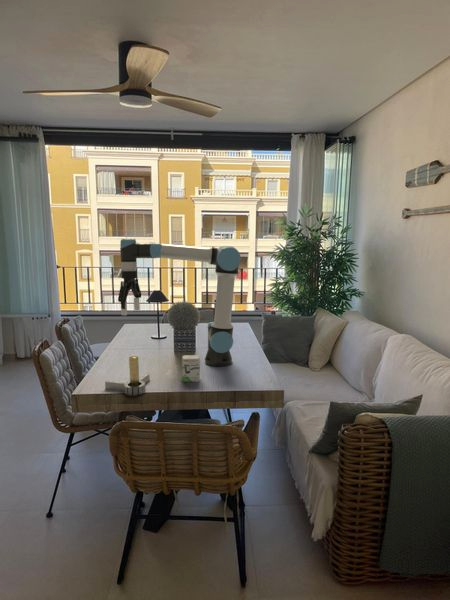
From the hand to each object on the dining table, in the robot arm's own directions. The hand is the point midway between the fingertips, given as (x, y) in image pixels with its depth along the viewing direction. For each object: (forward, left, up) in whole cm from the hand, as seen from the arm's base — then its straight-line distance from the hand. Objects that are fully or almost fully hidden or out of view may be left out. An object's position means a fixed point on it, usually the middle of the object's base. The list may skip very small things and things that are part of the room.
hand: (130, 312), depth 196 cm
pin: (-12, +22, -32) cm, 40 cm away
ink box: (-32, +2, -32) cm, 45 cm away
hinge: (-7, +17, -32) cm, 37 cm away
